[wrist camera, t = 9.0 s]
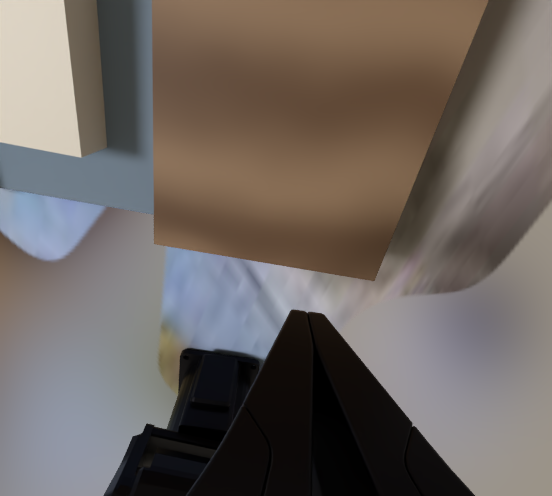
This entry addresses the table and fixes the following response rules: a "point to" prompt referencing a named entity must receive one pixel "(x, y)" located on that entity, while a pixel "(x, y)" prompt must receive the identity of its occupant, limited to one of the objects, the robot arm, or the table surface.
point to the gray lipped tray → (118, 119)
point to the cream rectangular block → (51, 76)
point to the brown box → (297, 123)
